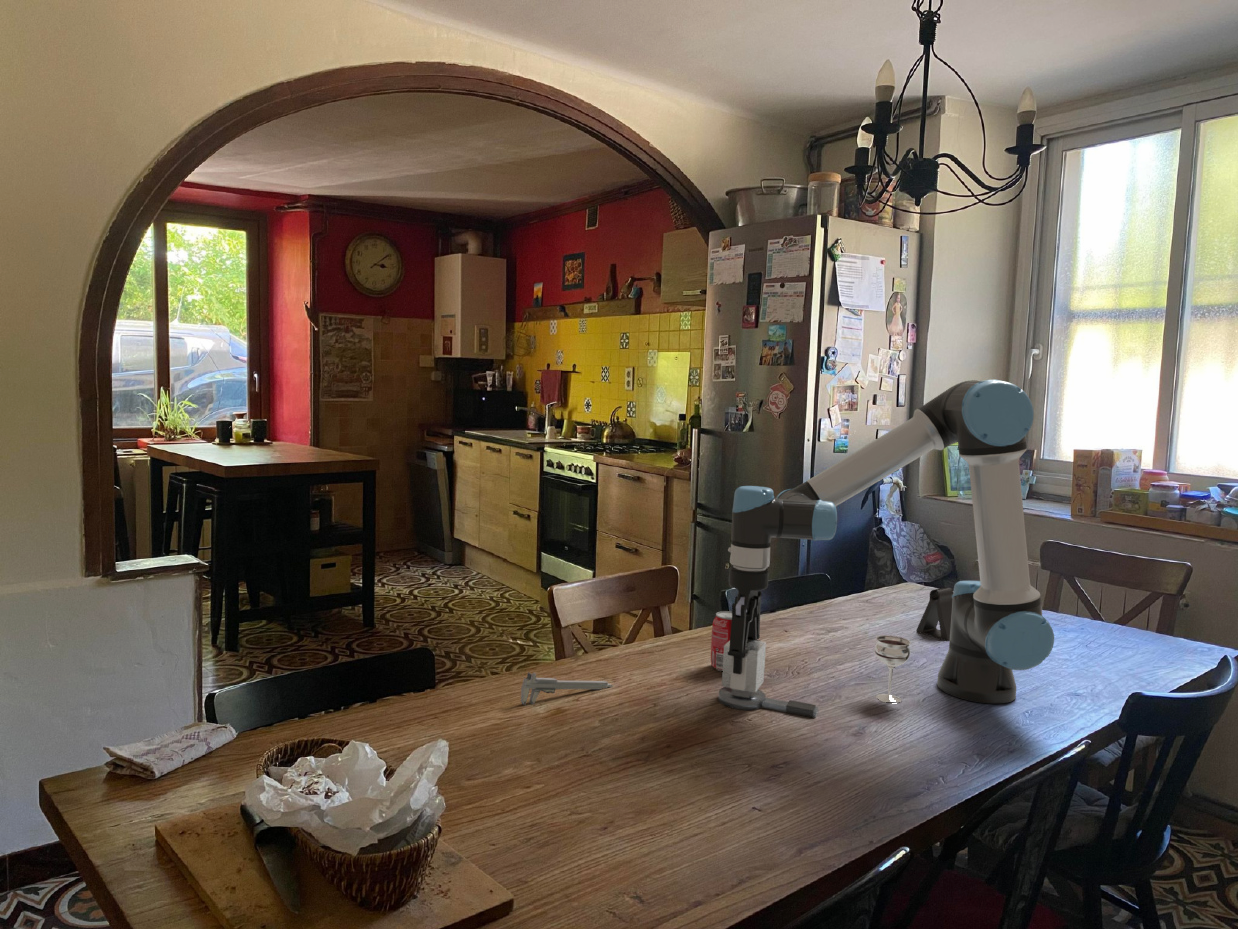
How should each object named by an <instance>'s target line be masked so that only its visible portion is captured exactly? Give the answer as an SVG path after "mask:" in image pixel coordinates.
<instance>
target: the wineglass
mask: <svg viewBox="0 0 1238 929" xmlns="http://www.w3.org/2000/svg"><path fill="white" fill-rule="evenodd" d="M875 639H876V644H875V646H874V653H875V657H877V659H878V660H879V661H880V663H882V664H884V665H886V667H887V668H888V685H887V686H888V688H887V689H888V690H887V692H888V693H879V694H877V695H875V698H876V699H877V698H878V699H879V700H878V699H877V700H878V701H881V702H883V703H886V702H900V703H902V702H901V700H902V698H901V697H899V696H896V695H893V694H891V690H892V682H893V673H894V669H896V667H898V666H902V665H903V664H905V663H906V662H907V661H908V660H909V658H910V655H911V649H910V645H911V643H912V642H911V641H910V640H909V639H907V638H904V637H902V636H895V635H887V634H886V635H877V636H876V637H875Z"/></svg>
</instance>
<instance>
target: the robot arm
mask: <svg viewBox="0 0 1238 929" xmlns="http://www.w3.org/2000/svg"><path fill="white" fill-rule="evenodd" d="M1034 415H1035V413H1034V406H1033V403H1032V401H1031V399H1030V397H1029V396H1028V394H1027V393H1026V391H1024V390H1023V389H1022V388H1021V387H1019V386H1018V385H1016V384H1014V383H1011V382H1009V381H1005V380H1002V379H1001V380H1000V379H997V378H996V379H985V380H981V379H980V380H975V379H974V380H973V379H972V380H965V381H962V382H959V383H956V384H955V385H952V386H951V387H949V388H948V389H946V390H945V391H943V392H941V393H940V394H939V395H937V396H935V397H934V398H932V399H931V400H929V401H928V402H926V403H925V404H923V405H922V406H920V407H918V408H916V409H914V412H913V416H912V417H911V418H910V419H908V420H905V421H904V422H903V423H901V424H899V425H898V426H896V427H895V428H892V429H891V430H890V431H888V432H886V433H884V434H883V435H881V436H880V437H877V438H876V439H875V440H873V441H871V442H869V443H868V444H865V445H864V446H863V447H861V448H860V449H858V450H856V451H855V452H852V453H851V454H849V455H848V456H846V457H844V458H843V459H841V460H839V461H837V462H836V463H834V464H833V465H831V466H829V467H828V468H825V469H824V470H822V471H821V472H819V473H818V474H816V475H815V476H813V477H811V478H809V479H808V480H806V481H804V482H803V483H800V484H799V485H797V486H796V487H794V488H789V489H785V490H782V491H780V492H779V494H778V495H776V497H775V495H774V494H775V493H774V490H773V489H772V488H770V487H768V486H767V487H766V486H758V485H743V486H739V487H737V488H736V489H735V491H734V496H733V503H732V504H733V505H732V509H731V510H732V513H731V514H732V515H731V535H730V536H731V538H730V547H728V549H727V551H728V552H729V553H730V557H729V563H730V564H731V566H730V567H729V569H728V571H729V572H728V584H729V586H730V587H731V588H733V589H737V591H738V592H737V596H735V598H734V603H733V602H732V605H731V612H732V622H731V635H730V647H729V652H728V655H730V656H732V665H731V682H730V688H732V689H737V690H743V691H744V690H745V680H746V663H747V656H746V646H747V639H749V640H755V641H761V639H760V637H761V635H760V632H761V629H760V628H761V605H762V604H761V603H762V596H763V592H762V591H764V590H766V589H768V587H769V577H770V575H769V574H770V571H769V569H768V567H770V564H771V563H770V561H771V540H772V538H775V539H779V538H780V539H781V538H782V539H796V540H809V541H810V540H812V541H815V542H817V541H830V540H832V539H833V538H834V537H835V536H836V532H837V527H838V511H837V506H839V505H841V504H842V503H844V502H846V501H848V500H849V499H850V498H853V497H855V496H856V495H857V494H859V493H861V492H863V491H864V490H866V489H868V488H870V487H871V486H873V485H875V484H877V483H878V482H879V481H881V480H883V479H885V478H887V477H888V476H890V475H891V474H893V473H895V472H896V471H898V470H900V469H902V468H904V467H906V466H907V465H909V464H911V463H913V461H916V460H918V459H920V458H921V457H922V456H924V455H926V454H927V453H929V452H931V451H933V450H938V451H943V450H945V449H947V447H949V446H951V445H955V444H956V443H957V445H958V446H957V447H958V455H959V457H960V458H962V459H963V460H964V461H965V462H967V464H968V470H969V478H970V479H969V480H970V489H971V490H970V491H971V502H972V510H973V522H974V531H975V539H976V551H977V553H976V554H977V559H978V560H977V561H978V572H979V580H960V581H957V582H956V583H955V584H954V587H953V595H952V598H953V600H952V614H951V627H950V640H949V642H948V651H947V653H946V655H945V658H944V660H943V662H942V664H941V666H940V669H939V670H938V672H937V673H938V674H937V681H936V686H937V687H938V689H940V690H941V691H942V692H944V693H946V694H948V695H950V696H953V697H955V698H958V699H962V700H965V701H969V702H974V703H981V704H994V705H997V704H998V705H999V704H1006V703H1011V702H1013V701H1015V699H1016V697H1017V684H1016V680H1015V679H1016V678H1015V675H1014V672H1013V671H1025V670H1030V669H1033V668H1035V667H1037V666H1040V665H1041V664H1042V663H1043V661H1045V660H1046V659H1047V658H1048V657H1049V656H1050V655H1051V653H1052V651H1053V648H1054V643H1055V633H1054V631H1053V630H1054V629H1053V627H1052V626H1051V624H1050V622H1049V621H1048V620H1047V618H1046V617H1045V616H1043V611H1042V610H1043V608H1042V599H1041V598H1042V597H1041V593H1040V591H1039V590H1037V589H1036V588H1035V587H1033V586H1032V584H1031V579H1030V569H1029V566H1030V565H1029V558H1028V546H1027V536H1026V526H1025V515H1024V514H1025V513H1024V506H1023V504H1024V503H1023V502H1024V501H1023V494H1022V491H1023V490H1022V483H1021V472H1020V458H1021V457H1022V456H1023V455H1024V453H1025V452H1026V451H1027V450H1028V448H1027V434H1028V433H1029V431H1030V430H1031V428H1032V426H1033V422H1034V418H1035V416H1034ZM759 639H760V640H759Z"/></svg>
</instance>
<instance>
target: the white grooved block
mask: <svg viewBox="0 0 1238 929" xmlns="http://www.w3.org/2000/svg"><path fill="white" fill-rule="evenodd" d="M766 645H767V642H766V641H762V640H760V641H755V640H749V639H747V646H746V656H747V663H746V680H745V691H750V692H756V691H757V690H758V689H760V687H762V685H763V683H764V681H765V678H764V677H765V664H766V649H767V648H766V647H767V646H766ZM729 647H730V641H729V642H728V643H726V644H725V645H724V655H723V672H722V675H721V687H722V688H723V687H728V688H730V682H731V665H732V656H730V655H728V652H729Z"/></svg>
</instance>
